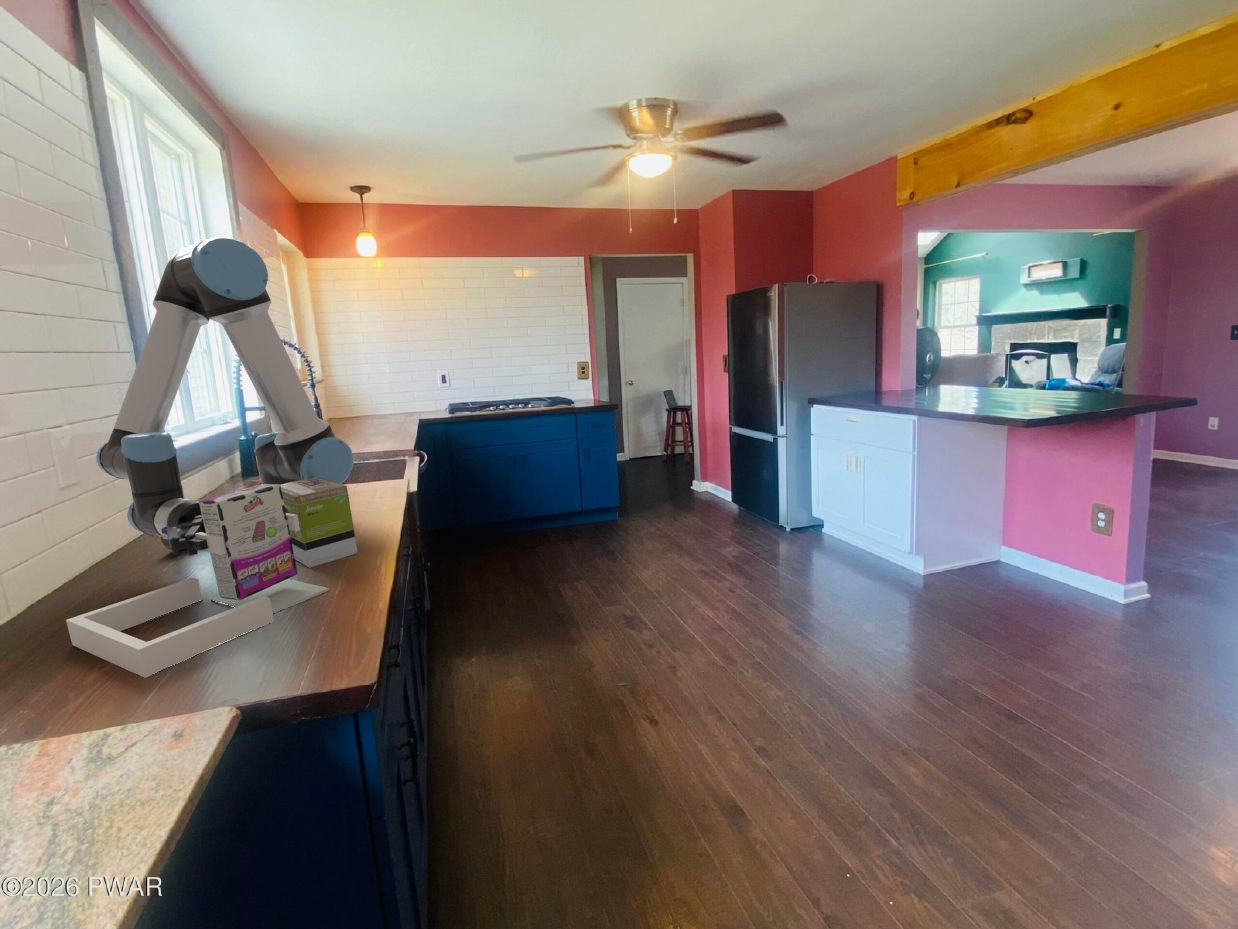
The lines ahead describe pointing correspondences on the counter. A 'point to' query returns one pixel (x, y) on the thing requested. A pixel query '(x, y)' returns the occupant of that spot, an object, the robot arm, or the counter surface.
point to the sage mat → (281, 594)
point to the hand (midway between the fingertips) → (261, 533)
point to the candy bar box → (250, 540)
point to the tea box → (320, 520)
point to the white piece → (147, 658)
